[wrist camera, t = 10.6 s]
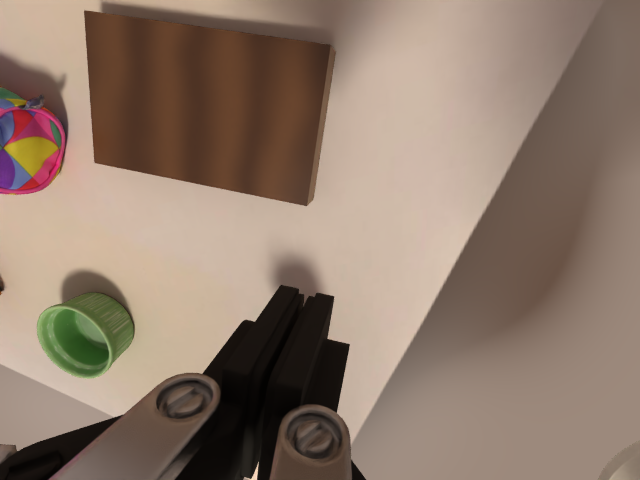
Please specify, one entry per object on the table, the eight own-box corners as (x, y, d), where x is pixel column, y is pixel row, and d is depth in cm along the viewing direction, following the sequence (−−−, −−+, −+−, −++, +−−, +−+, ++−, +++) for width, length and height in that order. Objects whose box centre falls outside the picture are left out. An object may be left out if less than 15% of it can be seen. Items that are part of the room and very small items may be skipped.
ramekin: (70, 277, 39) (33, 295, 35) (141, 300, 38) (111, 321, 34) (72, 340, 42) (38, 363, 38) (138, 363, 42) (110, 389, 37)
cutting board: (335, 51, 27) (330, 44, 25) (313, 200, 31) (306, 206, 29) (107, 19, 29) (83, 10, 27) (114, 160, 33) (94, 162, 31)
